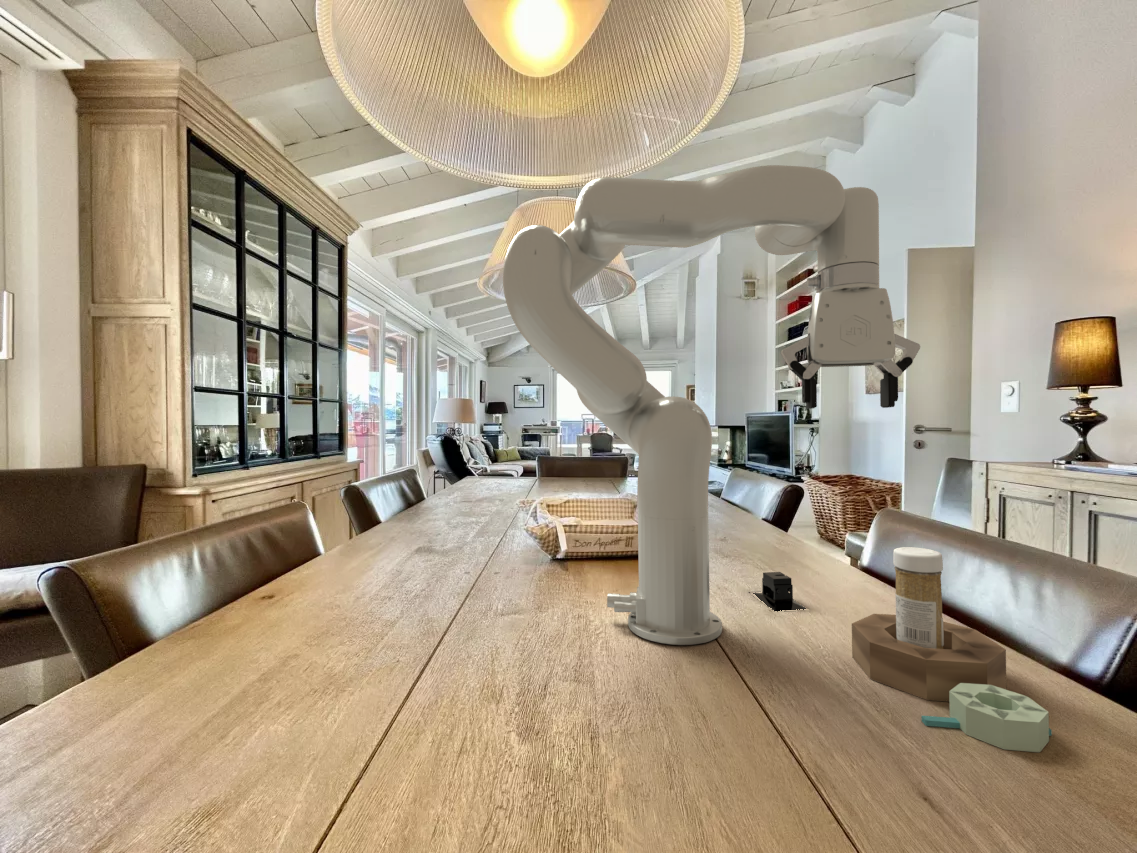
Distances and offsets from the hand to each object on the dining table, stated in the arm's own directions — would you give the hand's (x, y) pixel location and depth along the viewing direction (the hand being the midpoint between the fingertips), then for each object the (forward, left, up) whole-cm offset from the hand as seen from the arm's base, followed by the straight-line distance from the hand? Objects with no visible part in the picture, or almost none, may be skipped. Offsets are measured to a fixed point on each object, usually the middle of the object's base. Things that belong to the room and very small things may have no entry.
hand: (848, 407), depth 72 cm
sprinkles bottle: (+2, -14, -30) cm, 33 cm away
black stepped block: (-8, +9, -31) cm, 33 cm away
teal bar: (+3, -25, -30) cm, 39 cm away
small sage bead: (+4, -25, -30) cm, 39 cm away
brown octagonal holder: (+3, -14, -30) cm, 33 cm away
